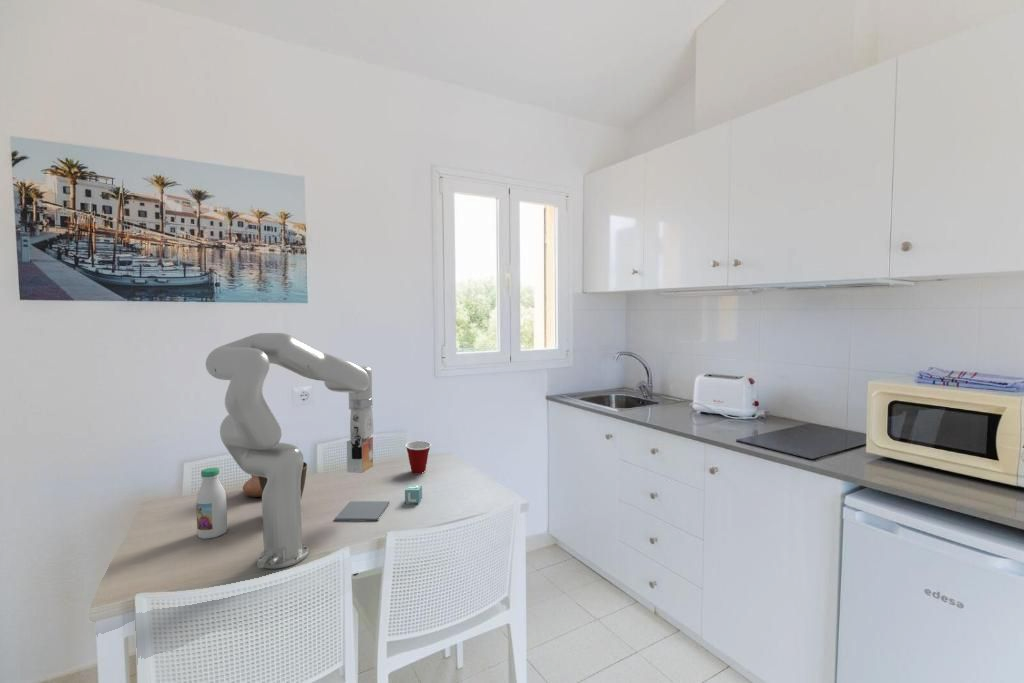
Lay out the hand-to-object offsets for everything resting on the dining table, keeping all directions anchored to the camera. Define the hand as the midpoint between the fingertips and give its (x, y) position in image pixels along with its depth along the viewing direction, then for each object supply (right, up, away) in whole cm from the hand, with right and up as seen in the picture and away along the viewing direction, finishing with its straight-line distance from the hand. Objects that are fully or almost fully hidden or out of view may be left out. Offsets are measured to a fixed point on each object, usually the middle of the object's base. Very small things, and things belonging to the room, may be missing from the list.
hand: (361, 454), depth 158 cm
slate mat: (0, -20, +1) cm, 20 cm away
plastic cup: (+11, -18, +42) cm, 47 cm away
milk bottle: (-41, -21, -14) cm, 48 cm away
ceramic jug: (-43, -19, +19) cm, 51 cm away
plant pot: (-26, -20, 0) cm, 33 cm away
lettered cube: (+15, -19, +10) cm, 27 cm away
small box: (-1, -5, 0) cm, 5 cm away
